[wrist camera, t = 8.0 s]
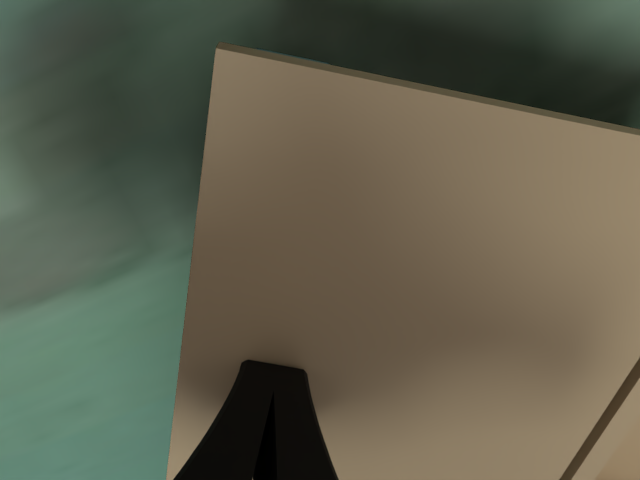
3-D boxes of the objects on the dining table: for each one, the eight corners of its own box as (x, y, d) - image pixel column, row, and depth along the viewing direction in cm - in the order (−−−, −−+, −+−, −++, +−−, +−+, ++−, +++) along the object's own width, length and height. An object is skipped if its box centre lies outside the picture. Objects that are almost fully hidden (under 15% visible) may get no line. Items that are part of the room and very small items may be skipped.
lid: (155, 574, 14) (159, 547, 15) (489, 584, 16) (481, 561, 17) (215, 48, 8) (219, 39, 8) (768, 161, 10) (737, 148, 10)
